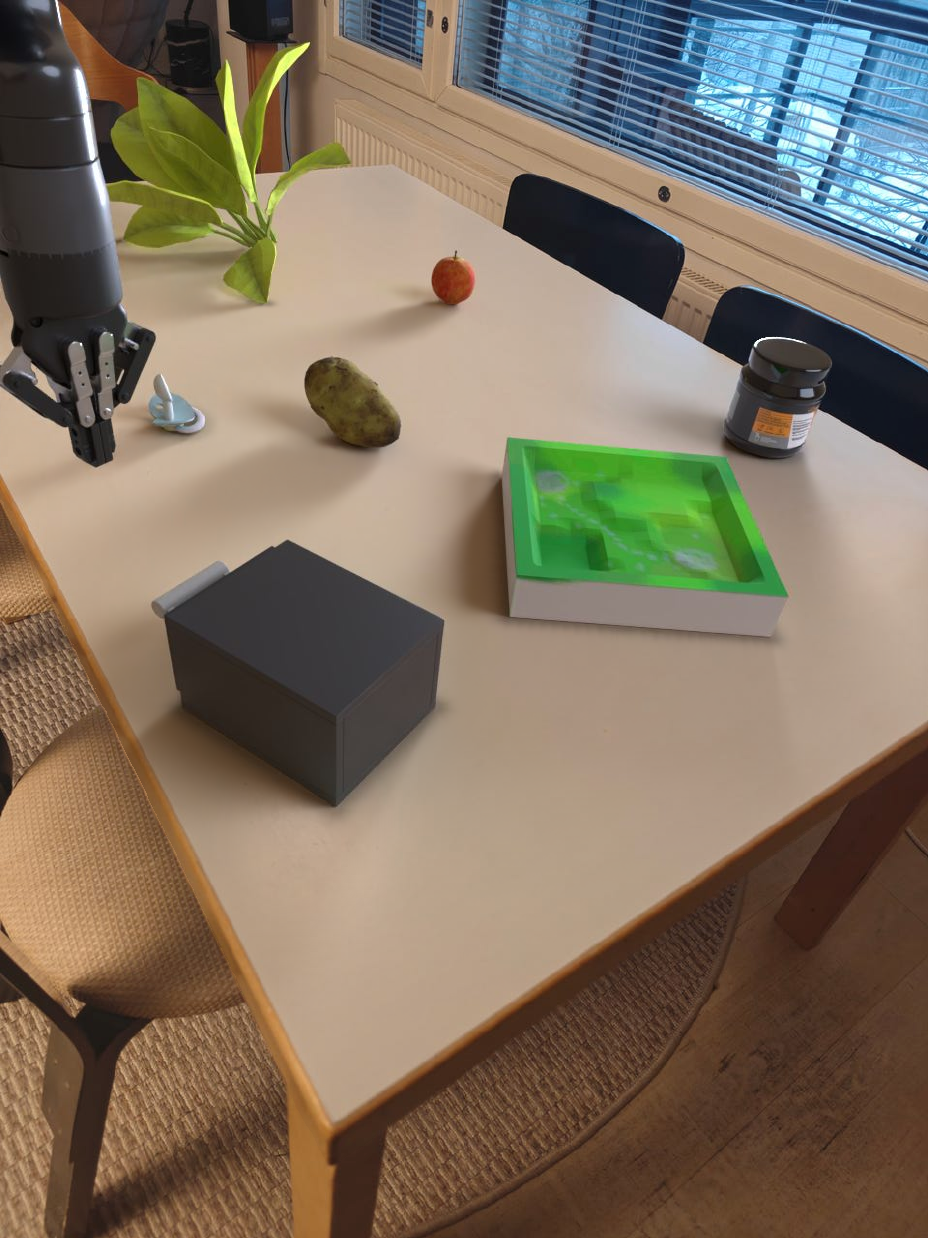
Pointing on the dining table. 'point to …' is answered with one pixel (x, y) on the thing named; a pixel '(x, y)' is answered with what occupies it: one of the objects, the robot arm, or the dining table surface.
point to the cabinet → (307, 666)
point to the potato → (351, 403)
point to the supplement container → (777, 397)
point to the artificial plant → (206, 172)
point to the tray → (634, 540)
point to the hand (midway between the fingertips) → (96, 460)
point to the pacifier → (173, 409)
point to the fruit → (453, 279)
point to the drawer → (193, 594)
